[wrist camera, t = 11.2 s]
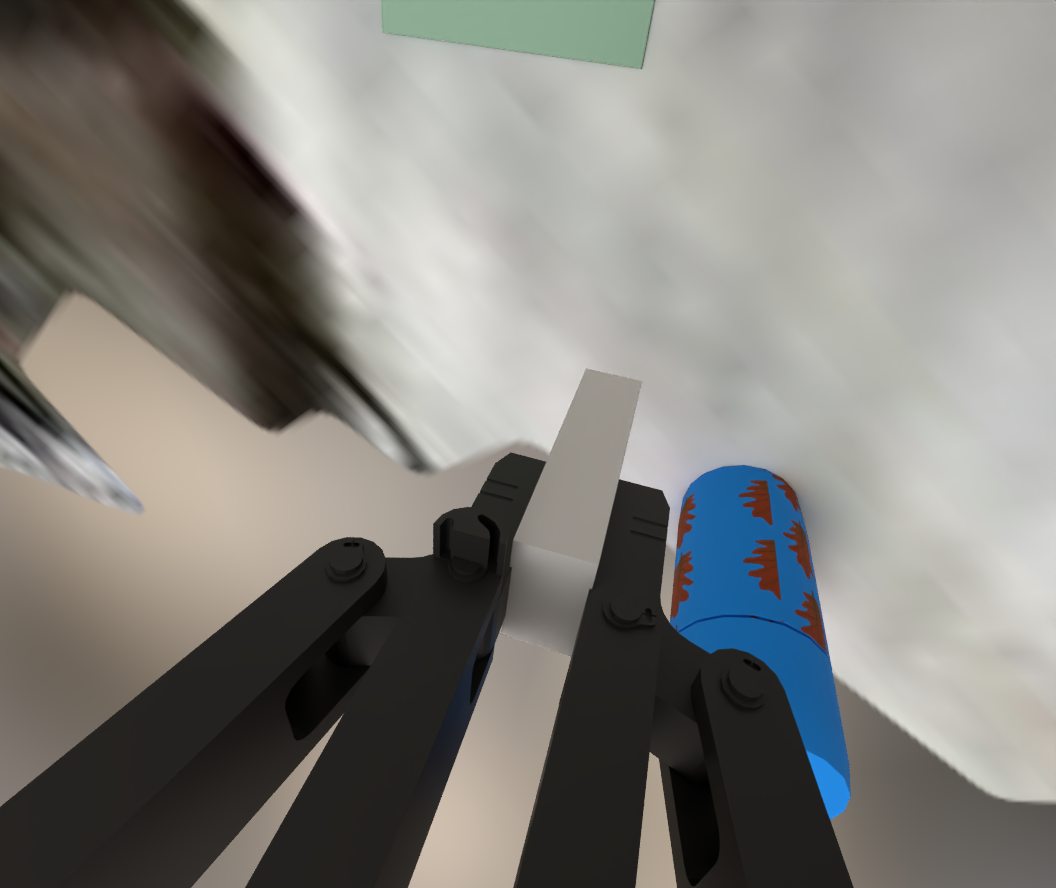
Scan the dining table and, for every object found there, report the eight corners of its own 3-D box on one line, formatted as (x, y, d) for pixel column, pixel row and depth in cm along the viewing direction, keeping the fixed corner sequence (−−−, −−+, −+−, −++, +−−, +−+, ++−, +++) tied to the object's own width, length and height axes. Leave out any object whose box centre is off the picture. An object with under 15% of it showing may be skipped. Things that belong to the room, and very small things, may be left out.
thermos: (711, 562, 57) (707, 828, 37) (659, 487, 54) (624, 738, 34) (821, 532, 51) (884, 828, 32) (771, 446, 48) (807, 720, 28)
